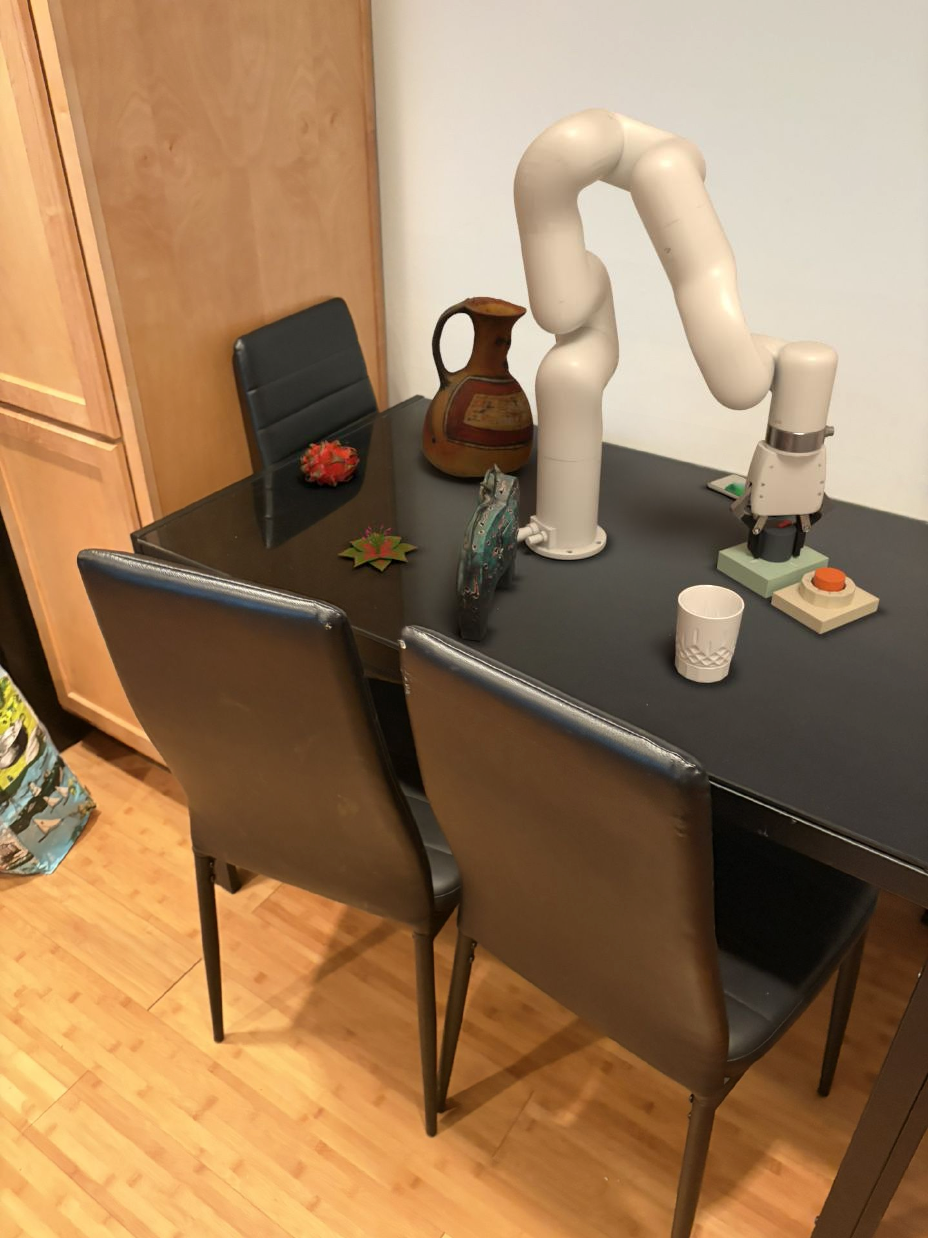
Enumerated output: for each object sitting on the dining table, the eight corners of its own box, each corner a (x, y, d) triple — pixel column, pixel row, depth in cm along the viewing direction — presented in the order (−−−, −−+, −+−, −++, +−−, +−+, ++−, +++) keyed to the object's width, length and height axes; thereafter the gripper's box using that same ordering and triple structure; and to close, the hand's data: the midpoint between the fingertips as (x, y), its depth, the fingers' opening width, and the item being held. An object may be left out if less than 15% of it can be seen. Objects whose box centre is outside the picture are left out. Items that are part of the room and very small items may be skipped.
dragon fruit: (297, 497, 171) (357, 489, 178) (314, 484, 164) (376, 476, 171) (286, 451, 172) (346, 445, 178) (303, 435, 165) (365, 430, 171)
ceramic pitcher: (535, 489, 169) (539, 316, 152) (420, 491, 169) (411, 318, 153) (530, 445, 185) (533, 285, 169) (425, 447, 185) (418, 287, 169)
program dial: (774, 566, 138) (780, 536, 136) (748, 552, 142) (753, 522, 139) (798, 556, 141) (804, 526, 138) (772, 542, 144) (777, 514, 142)
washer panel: (765, 598, 137) (768, 579, 135) (716, 568, 144) (719, 550, 142) (825, 575, 142) (829, 556, 140) (775, 548, 149) (778, 529, 147)
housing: (820, 634, 129) (825, 609, 127) (770, 604, 136) (775, 579, 133) (876, 611, 134) (882, 586, 131) (826, 583, 140) (831, 558, 138)
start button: (829, 596, 130) (831, 584, 129) (806, 583, 133) (808, 572, 132) (849, 587, 132) (852, 576, 131) (826, 575, 135) (829, 564, 134)
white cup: (663, 652, 126) (670, 586, 121) (722, 648, 127) (732, 582, 121) (679, 688, 120) (688, 620, 114) (742, 684, 120) (753, 616, 115)
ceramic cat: (487, 569, 146) (487, 444, 135) (529, 574, 144) (532, 449, 133) (448, 640, 130) (443, 505, 119) (494, 647, 128) (494, 511, 117)
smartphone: (733, 472, 171) (803, 501, 160) (733, 477, 171) (803, 506, 161) (705, 482, 167) (775, 513, 157) (705, 487, 168) (774, 517, 157)
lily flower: (373, 529, 157) (371, 504, 155) (432, 549, 151) (431, 523, 149) (323, 560, 149) (320, 533, 146) (383, 582, 143) (381, 554, 140)
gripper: (845, 423, 135) (821, 538, 145) (724, 428, 134) (709, 543, 144) (867, 444, 129) (841, 563, 138) (740, 449, 128) (723, 568, 138)
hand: (774, 551), depth 141 cm, fingers closed on program dial, 5 cm apart
